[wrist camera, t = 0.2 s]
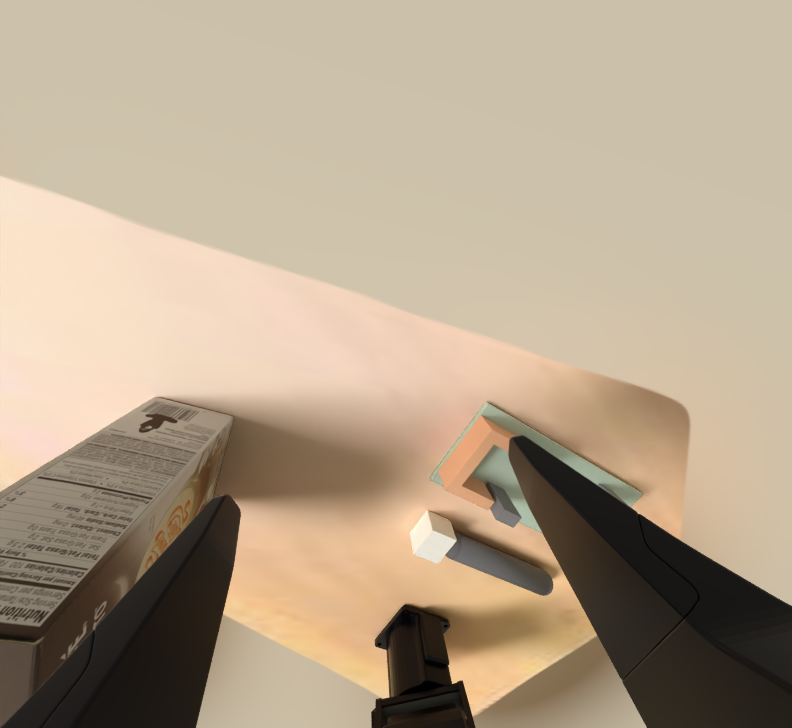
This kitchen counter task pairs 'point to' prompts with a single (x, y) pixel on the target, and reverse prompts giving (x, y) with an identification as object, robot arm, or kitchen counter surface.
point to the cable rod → (474, 554)
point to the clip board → (508, 468)
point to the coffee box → (96, 531)
